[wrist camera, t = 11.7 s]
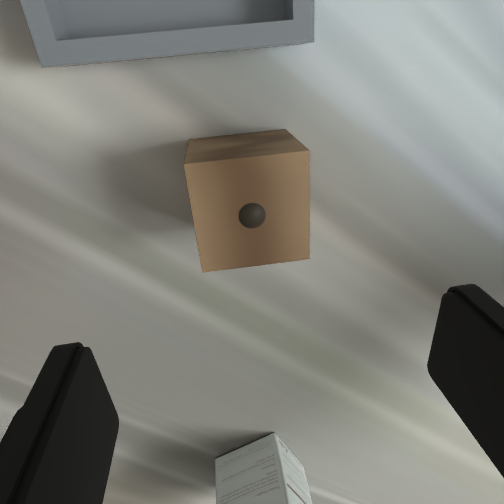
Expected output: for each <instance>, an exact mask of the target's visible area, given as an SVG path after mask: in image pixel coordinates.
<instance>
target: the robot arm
mask: <svg viewBox="0 0 504 504" xmlns="http://www.w3.org/2000/svg"><path fill="white" fill-rule="evenodd" d="M427 367H428V372H429V374H430V376H431V378H432V379H433V381H434V382H435V383H436V385H437V386H438V388H439V389H440V390H441V392H442V393H443V395H444V396H445V397H446V399H447V400H448V401H449V403H450V404H451V406H452V407H453V408H454V410H455V411H456V412H457V414H458V415H459V417H460V418H461V419H462V421H463V422H464V424H465V425H466V426H467V428H468V429H469V430H470V432H471V433H472V435H473V436H474V437H475V439H476V440H477V442H478V443H479V444H480V446H481V447H482V448H483V450H484V451H485V453H486V454H487V455H488V457H489V458H490V460H491V461H492V462H493V464H494V465H495V466H496V468H497V469H498V471H499V472H500V473H501V475H502V476H503V478H504V307H503V306H501V305H500V304H499V303H498V302H497V301H495V300H494V299H493V298H492V297H490V296H489V295H488V294H487V293H486V292H484V291H483V290H482V289H481V288H480V287H478V286H477V285H475V284H467V285H460V286H454V287H450V288H449V289H448V291H447V293H445V294H444V295H443V297H442V300H441V305H440V309H439V314H438V318H437V323H436V327H435V332H434V336H433V341H432V345H431V350H430V354H429V359H428V364H427ZM118 428H119V419H118V414H117V412H116V409H115V407H114V404H113V402H112V399H111V397H110V395H109V392H108V390H107V387H106V385H105V382H104V380H103V378H102V375H101V373H100V370H99V368H98V365H97V363H96V361H95V358H94V356H93V353H92V351H91V349H90V348H89V347H84V346H83V345H82V344H81V343H80V342H77V343H70V344H63V345H57V346H54V347H53V348H52V350H51V352H50V354H49V356H48V358H47V360H46V362H45V364H44V366H43V368H42V370H41V372H40V374H39V375H38V377H37V379H36V381H35V383H34V385H33V387H32V389H31V391H30V393H29V395H28V397H27V399H26V401H25V403H24V405H23V407H21V408H20V409H19V410H18V411H17V413H16V414H15V416H14V417H13V419H12V421H11V423H10V425H9V427H8V429H7V431H6V433H5V435H4V437H3V438H2V440H1V442H0V504H102V503H103V498H104V494H105V489H106V484H107V480H108V475H109V471H110V466H111V461H112V457H113V452H114V447H115V443H116V438H117V434H118Z"/></svg>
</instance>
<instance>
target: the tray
mask: <svg viewBox="0 0 504 504" xmlns="http://www.w3.org/2000/svg"><path fill="white" fill-rule="evenodd" d="M20 3H21V6H22V9H23V12H24V15H25V18H26V21H27V24H28V27H29V30H30V33H31V36H32V39H33V42H34V45H35V48H36V51H37V55H38V58H39V61H40V64H41V67H42V68H44V67H62V66H74V65H85V64H95V63H106V62H117V61H127V60H138V59H149V58H159V57H170V56H181V55H191V54H202V53H213V52H223V51H234V50H245V49H255V48H266V47H277V46H288V45H298V44H305V43H312V42H314V0H20Z"/></svg>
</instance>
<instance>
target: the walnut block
mask: <svg viewBox="0 0 504 504" xmlns="http://www.w3.org/2000/svg"><path fill="white" fill-rule="evenodd" d="M184 170H185V175H186V181H187V187H188V193H189V198H190V204H191V210H192V216H193V221H194V227H195V233H196V239H197V244H198V250H199V256H200V262H201V267H202V272H210V271H218V270H226V269H234V268H242V267H250V266H258V265H266V264H274V263H282V262H290V261H298V260H305V259H310V209H309V150H308V149H307V148H306V147H305V146H304V145H303V144H301V143H300V142H299V141H298V140H297V139H296V138H295V137H294V136H293V135H291V134H290V133H289V132H288V131H287V130H286V129H283V130H274V131H264V132H255V133H245V134H235V135H226V136H216V137H207V138H197V139H189V142H188V147H187V151H186V155H185V160H184Z"/></svg>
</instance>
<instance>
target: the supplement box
mask: <svg viewBox="0 0 504 504" xmlns="http://www.w3.org/2000/svg"><path fill="white" fill-rule="evenodd" d="M215 474H216V504H312V501H311V497H310V493H309V488H308V484H307V480H306V476H305V472H304V468H303V466H302V465H301V463H300V462H299V461H298V459H297V458H296V457H295V456H294V455H293V453H292V452H291V451H290V450H289V449H288V447H287V446H286V445H285V444H284V443H283V442H282V440H281V439H280V438H279V437H278V436H277V435H276V433H272V434H270V435H268V436H266V437H264V438H261V439H259V440H257V441H255V442H252V443H250V444H248V445H246V446H244V447H241V448H239V449H237V450H235V451H232V452H230V453H228V454H225V455H223V456H221V457H219V458H217V459H215Z"/></svg>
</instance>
